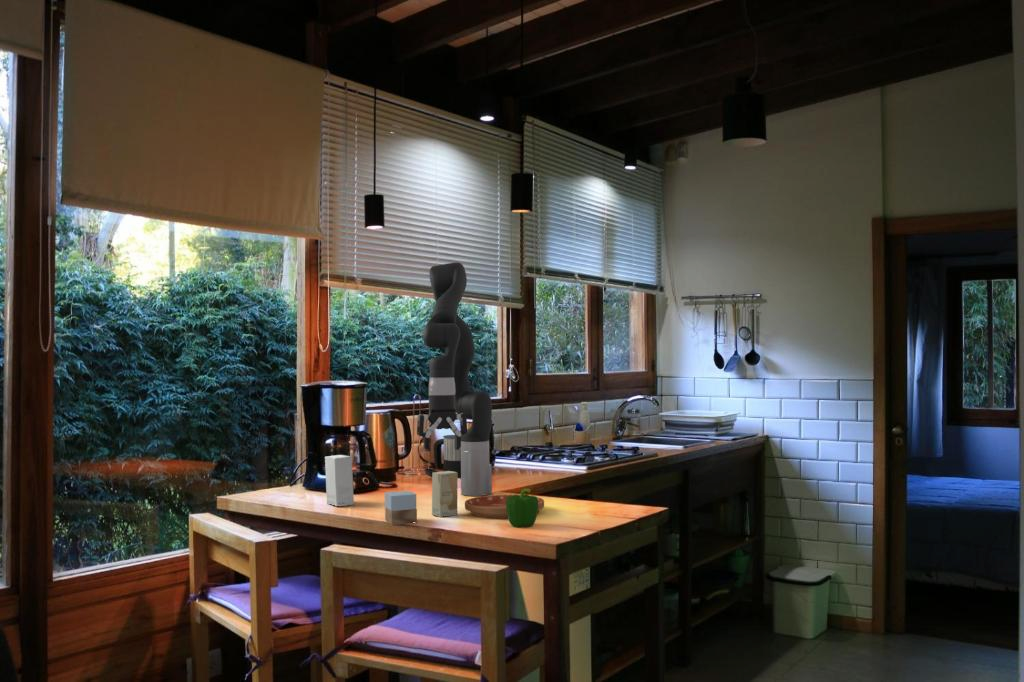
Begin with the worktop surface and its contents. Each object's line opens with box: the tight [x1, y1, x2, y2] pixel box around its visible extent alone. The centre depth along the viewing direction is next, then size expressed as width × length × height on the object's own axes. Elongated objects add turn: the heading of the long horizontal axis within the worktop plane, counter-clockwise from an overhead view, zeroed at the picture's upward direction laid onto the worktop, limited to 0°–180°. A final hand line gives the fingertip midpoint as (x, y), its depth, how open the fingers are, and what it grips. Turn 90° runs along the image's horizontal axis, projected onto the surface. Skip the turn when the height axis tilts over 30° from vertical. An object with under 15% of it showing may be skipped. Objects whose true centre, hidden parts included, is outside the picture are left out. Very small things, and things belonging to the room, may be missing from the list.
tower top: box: [384, 490, 417, 511], centre depth 251 cm, size 7×7×4 cm
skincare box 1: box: [324, 454, 355, 507], centre depth 278 cm, size 8×6×15 cm
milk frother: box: [423, 434, 461, 479], centre depth 332 cm, size 14×16×15 cm
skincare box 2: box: [431, 471, 458, 518], centre depth 260 cm, size 6×4×12 cm
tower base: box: [384, 506, 418, 526], centre depth 251 cm, size 7×7×4 cm
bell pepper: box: [506, 488, 539, 528], centre depth 244 cm, size 8×8×10 cm
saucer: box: [464, 494, 545, 519], centre depth 263 cm, size 23×23×4 cm
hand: (442, 450), depth 260 cm, fingers open, 8 cm apart
